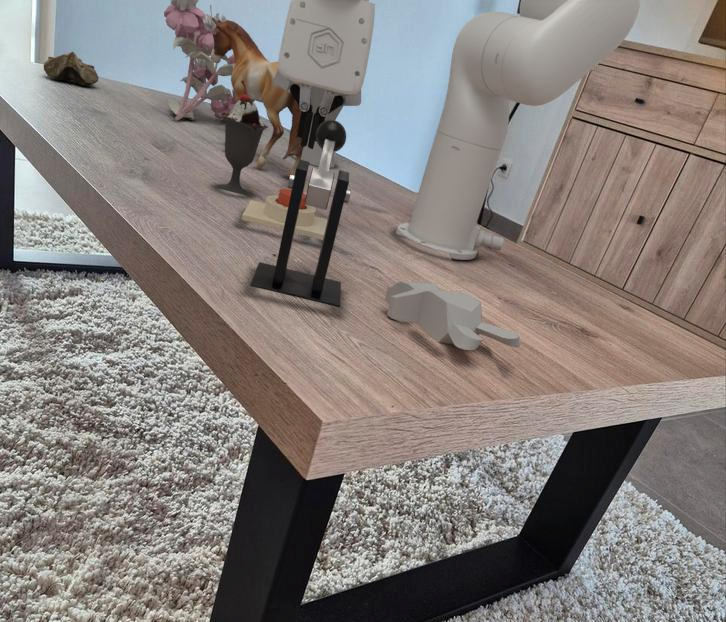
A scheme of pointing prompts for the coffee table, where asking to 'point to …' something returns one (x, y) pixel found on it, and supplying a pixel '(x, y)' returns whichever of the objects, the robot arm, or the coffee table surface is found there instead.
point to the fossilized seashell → (70, 69)
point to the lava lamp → (316, 99)
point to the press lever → (325, 163)
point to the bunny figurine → (444, 315)
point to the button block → (276, 217)
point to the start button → (285, 198)
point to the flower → (199, 58)
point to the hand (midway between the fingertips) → (307, 145)
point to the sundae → (241, 139)
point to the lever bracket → (279, 275)
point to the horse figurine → (258, 84)
